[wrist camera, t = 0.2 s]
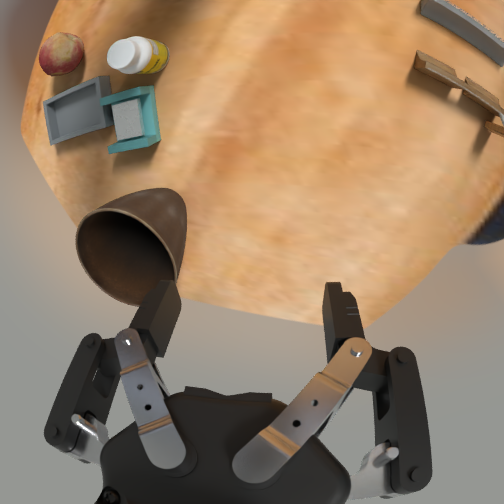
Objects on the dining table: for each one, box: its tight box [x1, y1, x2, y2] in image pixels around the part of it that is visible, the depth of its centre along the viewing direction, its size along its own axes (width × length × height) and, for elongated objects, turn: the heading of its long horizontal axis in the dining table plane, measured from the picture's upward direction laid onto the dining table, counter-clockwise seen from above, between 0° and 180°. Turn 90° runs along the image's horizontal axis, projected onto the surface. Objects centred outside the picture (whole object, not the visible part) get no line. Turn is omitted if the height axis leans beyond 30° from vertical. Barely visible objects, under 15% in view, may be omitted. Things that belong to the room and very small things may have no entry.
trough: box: [43, 76, 114, 145], centre depth 33 cm, size 9×14×3 cm, turn 94°
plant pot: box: [76, 188, 187, 307], centre depth 37 cm, size 15×15×16 cm
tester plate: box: [112, 98, 145, 140], centre depth 33 cm, size 6×4×1 cm
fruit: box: [39, 32, 84, 76], centre depth 25 cm, size 8×8×8 cm
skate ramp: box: [414, 0, 504, 137], centre depth 24 cm, size 29×35×8 cm
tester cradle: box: [100, 85, 161, 154], centre depth 33 cm, size 9×7×4 cm
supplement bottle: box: [107, 36, 169, 74], centre depth 26 cm, size 5×5×10 cm
